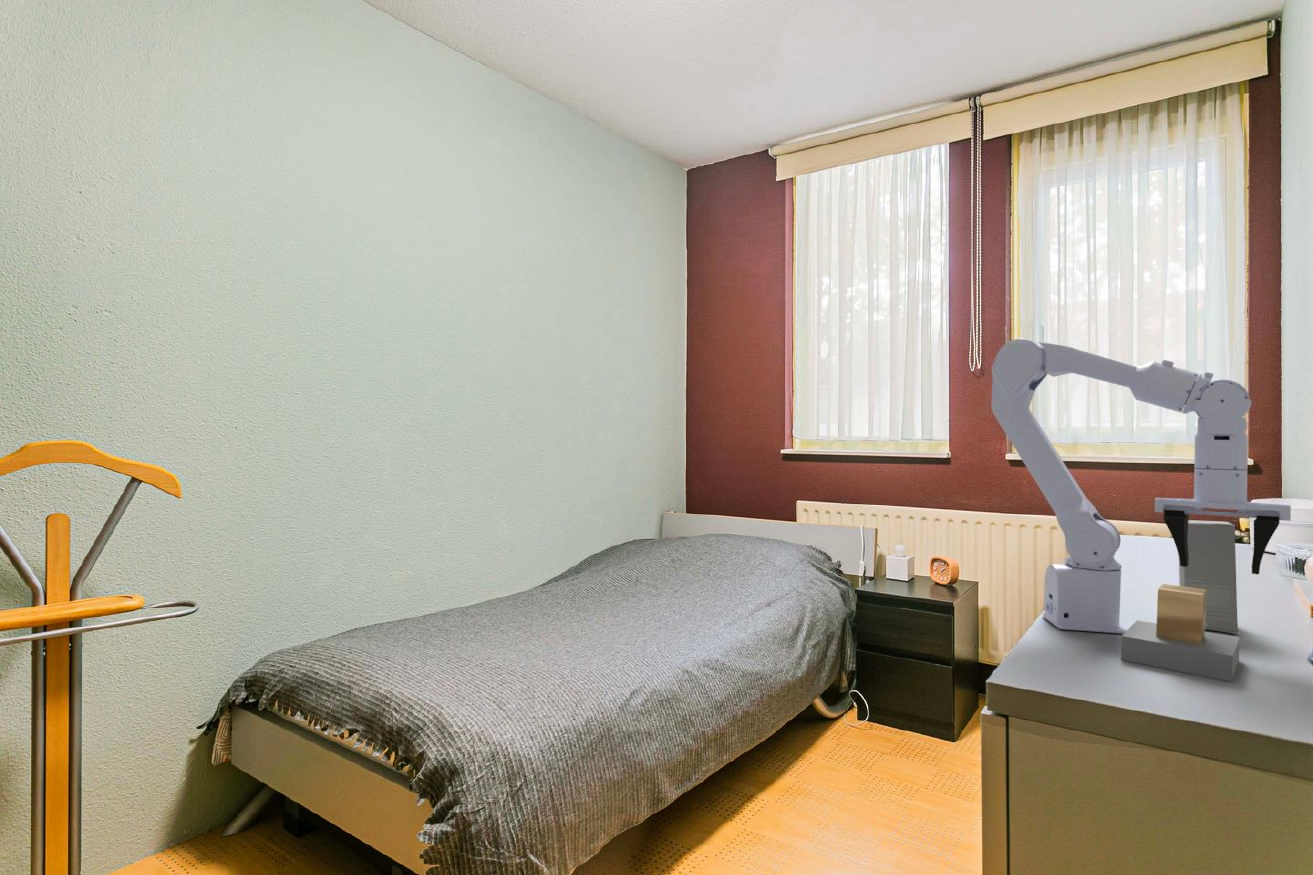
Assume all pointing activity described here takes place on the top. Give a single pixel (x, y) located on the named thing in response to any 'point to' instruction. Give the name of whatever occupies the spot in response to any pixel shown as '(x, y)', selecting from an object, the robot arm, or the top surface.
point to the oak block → (1181, 613)
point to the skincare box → (1213, 571)
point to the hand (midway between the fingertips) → (1219, 569)
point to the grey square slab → (1182, 652)
